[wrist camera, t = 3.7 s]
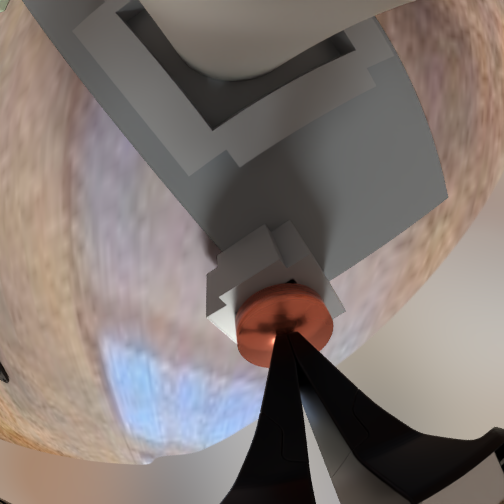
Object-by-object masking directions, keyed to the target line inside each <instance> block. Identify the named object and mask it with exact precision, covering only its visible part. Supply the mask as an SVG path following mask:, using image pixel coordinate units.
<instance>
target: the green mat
mask: <svg viewBox="0 0 504 504" xmlns="http://www.w3.org/2000/svg"><path fill="white" fill-rule="evenodd" d="M8 2H9V0H0V12H3V11H5V9H6V6H7V4H8Z"/></svg>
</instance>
